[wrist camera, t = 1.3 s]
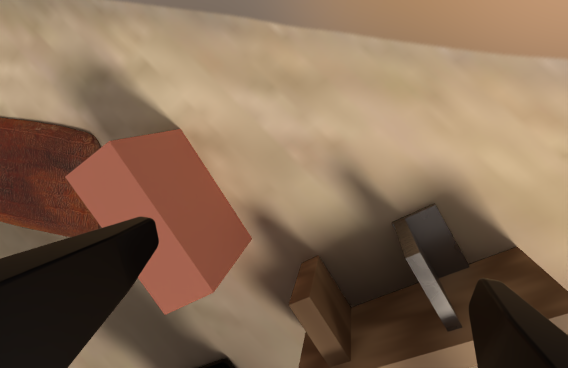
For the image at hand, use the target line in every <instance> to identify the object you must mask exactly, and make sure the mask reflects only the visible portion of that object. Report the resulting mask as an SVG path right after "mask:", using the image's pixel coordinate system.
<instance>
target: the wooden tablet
mask: <svg viewBox="0 0 568 368" xmlns="http://www.w3.org/2000/svg"><path fill="white" fill-rule="evenodd" d="M100 148H101V146H100V144H99V142H98V140H97V139H96V138H95V137H94V136H93V135H91V134H89V133H87V132H83V131H78V130H75V129H70V128H66V127H62V126H57V125H51V124H44V123H38V122H33V121H25V120H17V119H7V118H0V221H1V222H5V223H9V224H13V225H17V226H21V227H26V228H30V229H34V230H40V231H44V232H49V233H54V234H58V235H63V236H68V237H74V236H77V235H80V234H84V233H87V232H90V231H93V230H97V229H100V228H102V227H101V226H100V225H99V223H98V222H97V220H96V219H95V218H94V216H93V215H92V213H91V212H90V211H89V209H88V208H87V207H86V205H85V204H84V202H83V201H82V200H81V198H80V197H79V196H78V194H77V193H76V191H75V190H74V189H73V187H72V186H71V184H70V183H69V182H68V180H67V179H66V178H65V177H66V176H67V175H68V174H69V173H70V172H72V171H73V170H74V169H75V168H77V167H78V166H79V165H80V164H82V163H83V162H84V161H85V160H87V159H88V158H89V157H90V156H91V155H93V154H94V153H95V152H96V151H98V150H99V149H100Z"/></svg>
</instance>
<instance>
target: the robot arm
mask: <svg viewBox="0 0 568 368" xmlns="http://www.w3.org/2000/svg"><path fill="white" fill-rule="evenodd" d="M158 244H159V238H158V233H157V228H156V223H155V221H154V220H153V219H152V218H148V217H142V216H141V217H136V218H133V219H130V220H126V221H123V222H120V223H117V224H113V225H110V226H107V227H103V228H100V229H97V230H93V231H90V232H87V233H84V234H80V235H77V236H74V237H70V238H67V239H64V240H61V241H57V242H54V243H51V244H47V245H44V246H41V247H37V248H34V249H31V250H28V251H24V252H21V253H18V254H14V255H11V256H8V257H5V258H1V259H0V368H68V367H69V365H70V364H71V363H72V362H73V360H74V359H75V358H76V356H77V355H78V354H79V353H80V351H81V350H82V349H83V348H84V346H85V345H86V344H87V343H88V341H89V340H90V339H91V338H92V336H93V335H94V334H95V333H96V331H97V330H98V329H99V328H100V326H101V325H102V324H103V323H104V321H105V320H106V319H107V318H108V316H109V315H110V314H111V313H112V311H113V310H114V309H115V308H116V306H117V305H118V304H119V302H120V301H121V300H122V299H123V297H124V296H125V295H126V294H127V292H128V291H129V290H130V288H131V287H132V285H133V284H134V282H135V281H136V279H137V278H138V276H139V275H140V273H141V272H142V270H143V269H144V267H145V266H146V264H147V263H148V261H149V260H150V258H151V257H152V255H153V254H154V252H155V251H156V249H157V247H158ZM469 317H470V323H471V330H472V336H473V342H474V348H475V354H476V360H477V366H478V368H568V334H566V333H565V332H564V331H563V330H561V329H560V328H559V327H558V326H556V325H555V324H554V323H553V322H551V321H550V320H549V319H548V318H546V317H545V316H544V315H543V314H541V313H540V312H539V311H538V310H536V309H535V308H534V307H533V306H531V305H530V304H529V303H528V302H526V301H525V300H524V299H523V298H521V297H520V296H519V295H518V294H516V293H515V292H514V291H513V290H511V289H510V288H509V287H508V286H506V285H505V284H504V283H503V282H501V281H498V280H493V279H488V278H480V279H479V280H478V281H477V284H476V286H475V289H474V292H473V294H472V297H471V300H470V302H469ZM199 368H234V366H233V365H232V364H231V362H230V361H229V360H228V359H221V360H218V361H215V362H213V363H210V364H207V365H204V366H202V367H199Z"/></svg>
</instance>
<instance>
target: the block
mask: <svg viewBox="0 0 568 368" xmlns="http://www.w3.org/2000/svg"><path fill="white" fill-rule="evenodd" d="M65 178H66V179H67V180H68V182H69V183H70V184H71V186H72V187H73V189H74V190H75V191H76V193H77V194H78V196H79V197H80V198H81V200H82V201H83V202H84V204H85V205H86V207H87V208H88V209H89V211H90V212H91V213H92V215H93V216H94V218H95V219H96V220H97V222H98V223H99V225H100V226H101V227H102V228H103V227H107V226H110V225H113V224H117V223H120V222H123V221H126V220H130V219H133V218H136V217H141V216H142V217H148V218H152V219H153V220H154V221H155V223H156V228H157V233H158V238H159V244H158V247H157V249H156V251H155V252H154V254H153V255H152V257H151V258H150V260H149V261H148V263H147V264H146V266H145V267H144V269H143V270H142V272H141V273H140V275H139V276H138V278H139V280H140V281H141V283H142V284H143V285H144V287H145V288H146V289H147V291H148V292H149V294H150V295H151V296H152V298H153V299H154V301H155V302H156V303H157V305H158V306H159V307H160V309H161V310H162V312H163V313H164V314H165V315H166V314H168V313H170V312H172V311H175V310H177V309H179V308H181V307H183V306H185V305H187V304H190V303H192V302H194V301H196V300H198V299H200V298H203V297H205V296H207V295H209V294H211V293H213V292H214V291H215V290H216V288H217V287H218V286H219V284H220V283H221V281H222V280H223V279H224V277H225V276H226V274H227V273H228V272H229V270H230V269H231V268H232V266H233V265H234V263H235V262H236V261H237V259H238V258H239V256H240V255H241V254H242V252H243V251H244V249H245V248H246V247H247V245H248V244H249V242H250V241H251V240H252V238H251V236H250V234H249V233H248V231H247V230H246V228H245V227H244V225H243V224H242V222H241V221H240V219H239V218H238V216H237V215H236V213H235V211H234V210H233V208H232V207H231V205H230V204H229V202H228V201H227V199H226V198H225V196H224V195H223V193H222V192H221V190H220V188H219V187H218V185H217V184H216V182H215V181H214V179H213V178H212V176H211V175H210V173H209V172H208V170H207V169H206V167H205V165H204V164H203V162H202V161H201V159H200V158H199V156H198V155H197V153H196V152H195V150H194V149H193V147H192V146H191V144H190V142H189V141H188V139H187V138H186V136H185V135H184V133H183V132H182V130H181V129H178V130H172V131H166V132H160V133H154V134H148V135H142V136H137V137H131V138H125V139H119V140H113V141H109V142H108V143H106V144H105V145H104V146H103V147H101V148H100V149H99V150H98V151H96V152H95V153H94V154H93V155H91V156H90V157H89V158H88V159H87V160H85V161H84V162H83V163H82V164H80V165H79V166H78V167H77V168H75V169H74V170H73V171H72V172H70V173H69V174H68V175H67V176H66V177H65Z"/></svg>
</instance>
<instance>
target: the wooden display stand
mask: <svg viewBox="0 0 568 368" xmlns="http://www.w3.org/2000/svg"><path fill="white" fill-rule="evenodd" d="M469 266H470V267H469V268H466V269H463V270H460V271H458V272H455V273H452V274H449V275H447V276H444V277H441V278H439V280H440V282H441V284H442V286H443V288H444V290H445V292H446V294H447V296H448V298H449V300H450V302H451V304H452V306H453V308H454V311H455V313H456V315H457V317H458V319H459V321H460V323H461V325H462V328H459V329H456V330H452V331H449V332H448V331H447V329H446V328H445V326H444V324H443V322H442V321H441V319H440V317H439V316H438V314H437V312H436V310H435V309H434V307H433V305H432V304H431V302H430V300H429V298H428V297H427V295H426V293H425V291H424V290H423V288H422V286H421V285H420V283H417V284H414V285H412V286H409V287H406V288H403V289H401V290H398V291H395V292H393V293H390V294H387V295H384V296H382V297H379V298H376V299H373V300H371V301H368V302H365V303H363V304H360V305H357V306H354V307H352V308H351V307H350V305H349V304H348V302H347V301H346V299H345V297H344V296H343V294H342V293H341V291H340V289H339V288H338V286H337V285H336V283H335V281H334V280H333V278H332V277H331V275H330V273H329V272H328V270H327V269H326V267H325V265H324V264H323V262H322V261H321V259H320V257H319V256H316V257H314V258H312V259H309V260H307V261H305V262H303V263H302V264H301V267H300V270H299V273H298V277H297V280H296V283H295V286H294V289H293V293H292V296H291V299H290V302H289V306H290V308H291V309H292V311H293V312H294V314H295V316H296V317H297V319H298V320H299V322H300V323H301V325H302V326H303V328H304V329H305V331H306V333H305V338H304V343H303V348H302V353H301V358H300V363H299V368H469V367H473V366H477V360H476V354H475V348H474V342H473V336H472V330H471V323H470V317H469V302H470V300H471V297H472V294H473V292H474V289H475V286H476V284H477V281H478V280H479V279H480V278H488V279H493V280H498V281H501V282H503V283H504V284H505V285H506V286H508V287H509V288H510V289H511V290H513V291H514V292H515V293H516V294H518V295H519V296H520V297H521V298H523V299H524V300H525V301H526V302H528V303H529V304H530V305H531V306H533V307H534V308H535V309H536V310H538V311H539V312H540V313H541V314H543V315H544V316H545V317H546V318H548V319H549V320H550V321H551V322H553V323H554V324H555V325H556V326H558V327H559V328H560V329H561V330H563V331H564V332H565V333H566V334H568V291H567V290H566V289H564V288H563V287H562V286H561V285H560V284H559V283H558V282H557V281H555V280H554V279H553V278H552V277H551V276H550V275H549V274H548V273H546V272H545V271H544V270H543V269H542V268H541V267H540V266H538V265H537V264H536V263H535V262H534V261H533V260H532V259H531V258H529V257H528V256H527V255H526V254H525V253H524V252H523V251H522V250H520V249H519V248H518V247H515V248H512V249H510V250H507V251H504V252H502V253H499V254H496V255H493V256H491V257H488V258H485V259H482V260H480V261H477V262H474V263H472V264H469Z"/></svg>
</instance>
